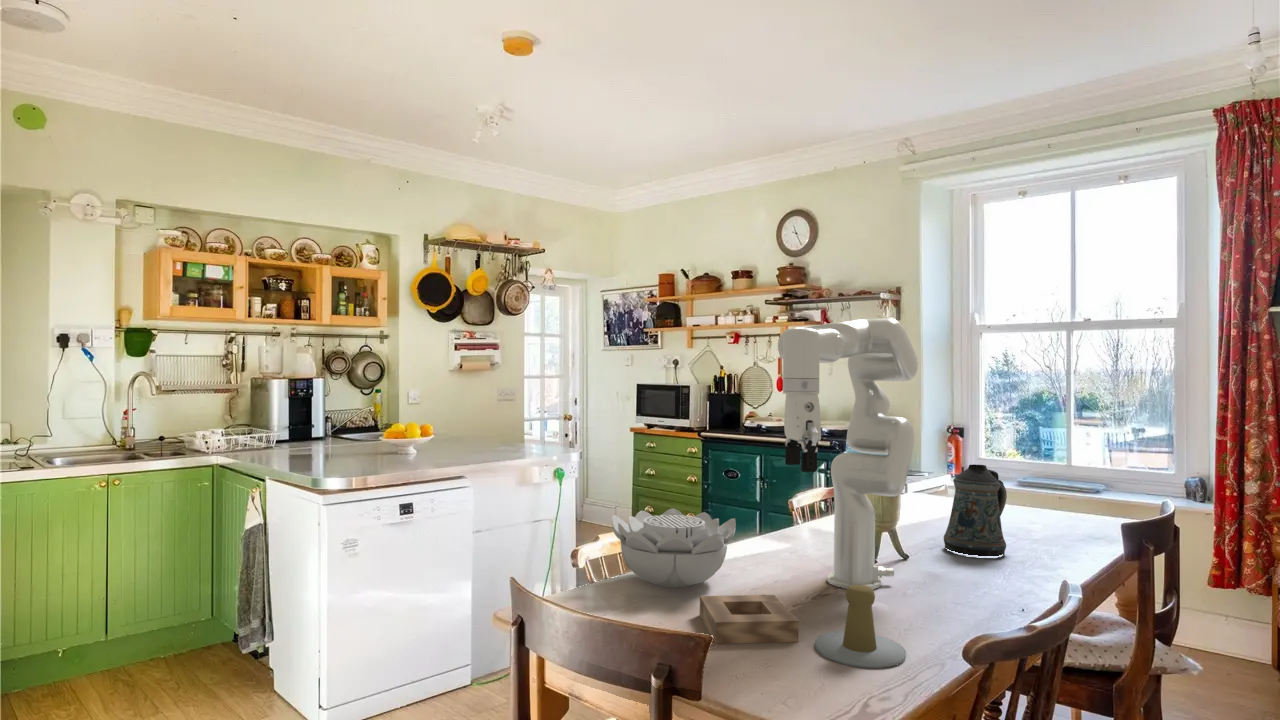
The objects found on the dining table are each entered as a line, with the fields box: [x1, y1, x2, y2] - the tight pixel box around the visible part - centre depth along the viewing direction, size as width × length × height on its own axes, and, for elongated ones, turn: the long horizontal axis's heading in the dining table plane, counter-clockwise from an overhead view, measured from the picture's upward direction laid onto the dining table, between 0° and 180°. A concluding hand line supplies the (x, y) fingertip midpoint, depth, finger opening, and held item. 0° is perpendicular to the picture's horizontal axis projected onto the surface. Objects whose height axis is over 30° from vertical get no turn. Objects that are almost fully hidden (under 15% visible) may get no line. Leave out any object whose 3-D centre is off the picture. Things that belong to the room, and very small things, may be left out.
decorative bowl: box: [611, 508, 737, 588], centre depth 178 cm, size 30×30×15 cm
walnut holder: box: [699, 594, 800, 645], centre depth 147 cm, size 16×16×4 cm
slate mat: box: [814, 630, 907, 669], centre depth 136 cm, size 16×16×1 cm
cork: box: [843, 585, 877, 652], centre depth 136 cm, size 6×6×11 cm
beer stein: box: [943, 464, 1008, 556], centre depth 215 cm, size 16×19×25 cm
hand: (800, 468), depth 156 cm, fingers open, 9 cm apart
